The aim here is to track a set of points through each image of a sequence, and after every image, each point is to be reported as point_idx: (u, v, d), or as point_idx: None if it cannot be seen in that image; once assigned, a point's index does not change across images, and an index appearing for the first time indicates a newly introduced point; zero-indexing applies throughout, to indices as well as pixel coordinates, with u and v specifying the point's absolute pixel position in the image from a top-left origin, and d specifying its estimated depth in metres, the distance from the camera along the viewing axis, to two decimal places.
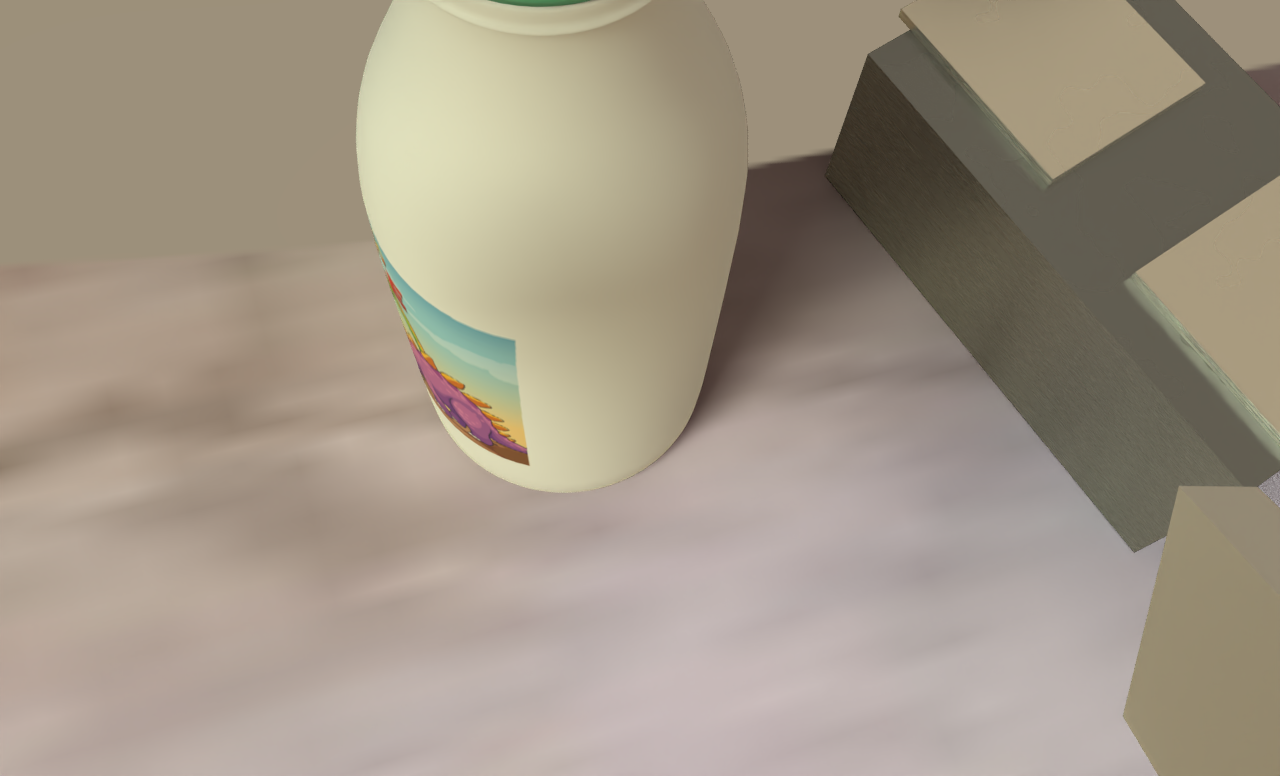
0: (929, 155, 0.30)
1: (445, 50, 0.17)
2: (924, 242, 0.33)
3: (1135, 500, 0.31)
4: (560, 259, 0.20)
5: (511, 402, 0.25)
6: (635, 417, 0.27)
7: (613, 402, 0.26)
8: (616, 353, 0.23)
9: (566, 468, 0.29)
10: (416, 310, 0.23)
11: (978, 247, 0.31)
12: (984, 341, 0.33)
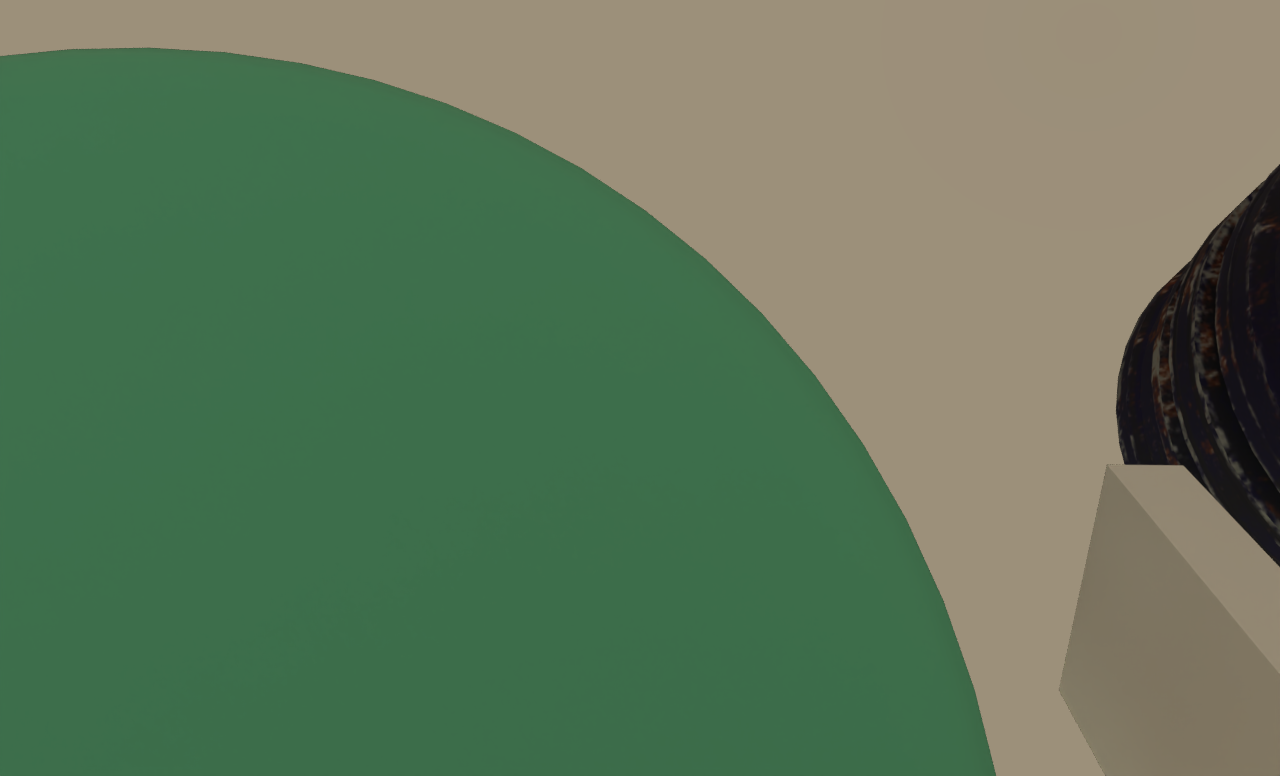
0: None
1: None
2: None
3: None
4: None
5: None
6: None
7: None
8: None
9: None
10: None
11: None
12: None
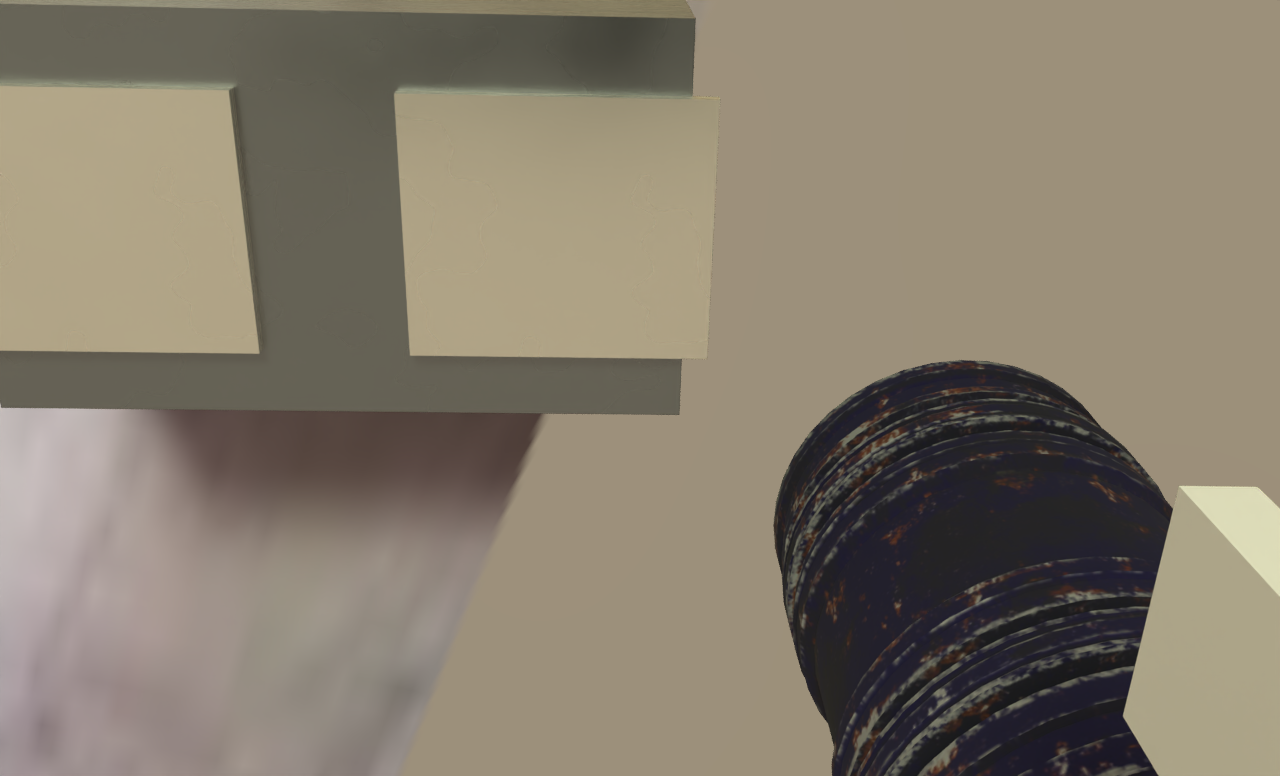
0: (538, 9, 0.22)
1: None
2: None
3: None
4: None
5: None
6: None
7: None
8: None
9: None
10: None
11: (413, 0, 0.23)
12: None
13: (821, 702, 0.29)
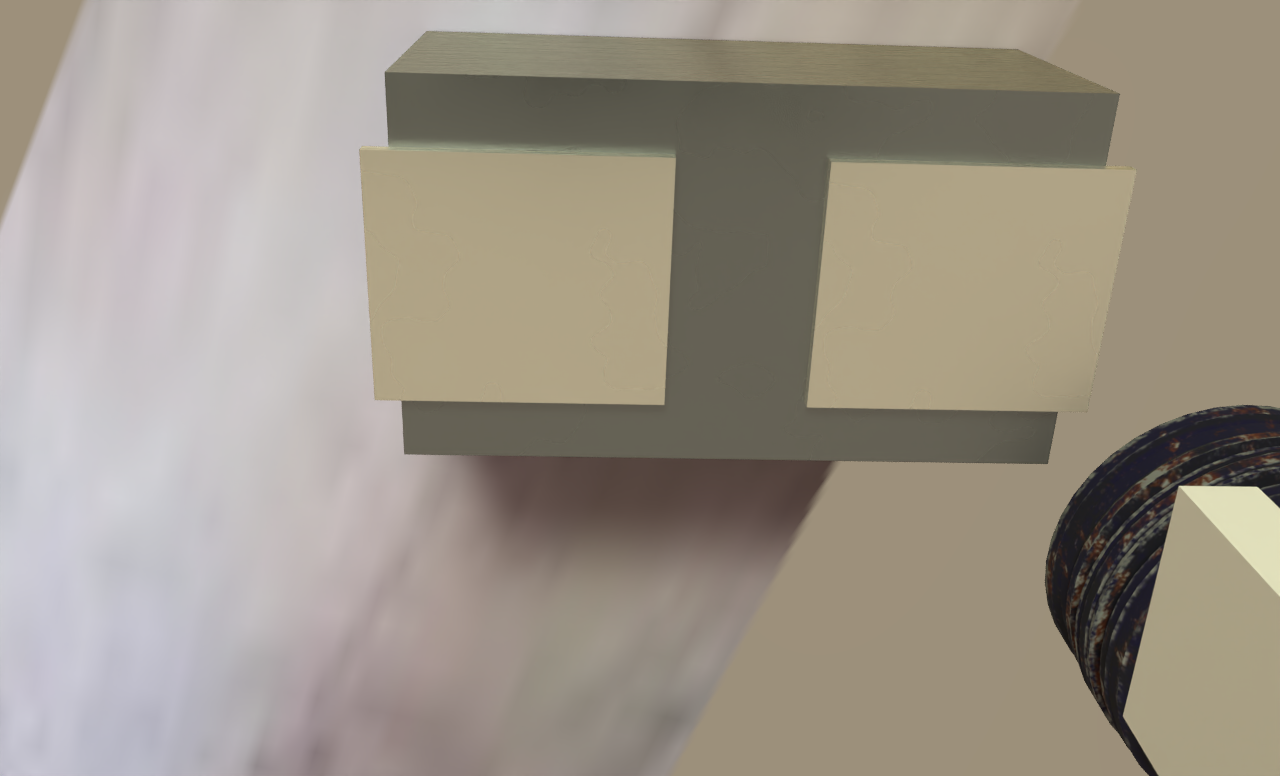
0: (956, 81, 0.23)
1: None
2: (870, 57, 0.26)
3: (468, 43, 0.26)
4: None
5: None
6: None
7: None
8: None
9: None
10: None
11: (822, 68, 0.24)
12: (726, 46, 0.27)
13: (1134, 736, 0.30)
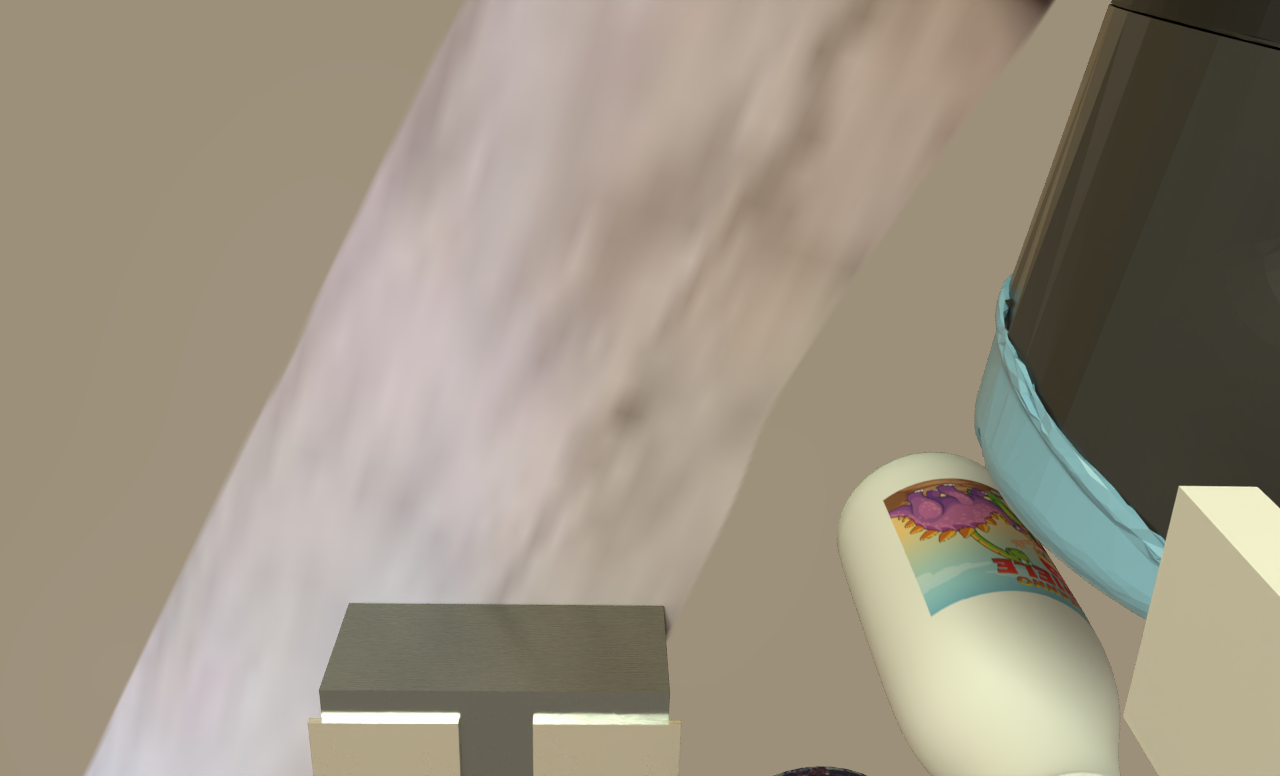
0: (597, 677, 0.48)
1: (1048, 747, 0.36)
2: (573, 632, 0.51)
3: (367, 628, 0.51)
4: (941, 687, 0.39)
5: (913, 558, 0.44)
6: (861, 585, 0.46)
7: (874, 596, 0.45)
8: (891, 640, 0.42)
9: (867, 515, 0.48)
10: (985, 574, 0.41)
11: (537, 661, 0.49)
12: (503, 618, 0.52)
13: None
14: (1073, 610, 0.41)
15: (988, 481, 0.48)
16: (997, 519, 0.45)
